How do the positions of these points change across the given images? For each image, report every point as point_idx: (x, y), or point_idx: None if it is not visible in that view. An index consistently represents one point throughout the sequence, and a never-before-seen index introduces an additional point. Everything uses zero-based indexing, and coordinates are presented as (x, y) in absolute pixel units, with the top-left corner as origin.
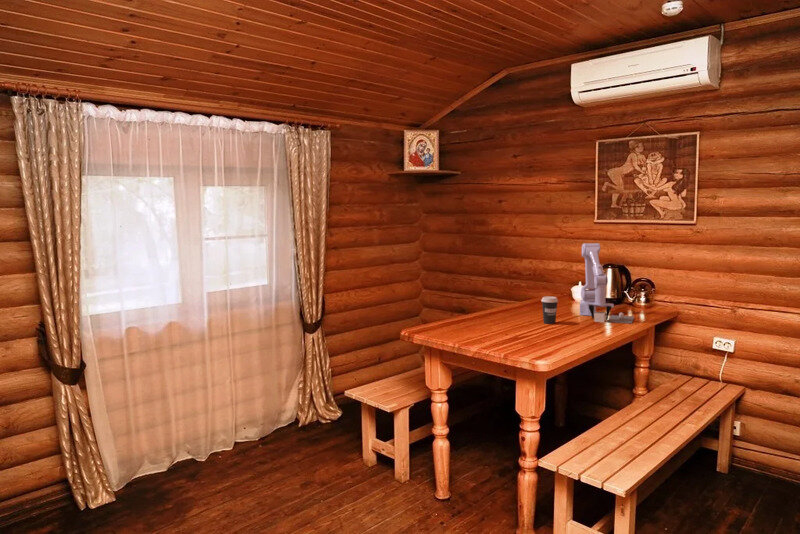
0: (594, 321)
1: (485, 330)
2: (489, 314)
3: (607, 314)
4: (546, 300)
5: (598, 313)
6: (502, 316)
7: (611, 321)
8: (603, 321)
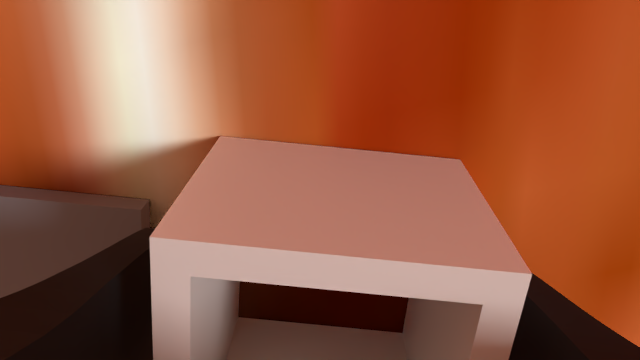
0: (453, 162)
1: None
2: None
3: (66, 282)
4: None
5: (374, 274)
6: None
7: (56, 198)
8: (235, 146)
